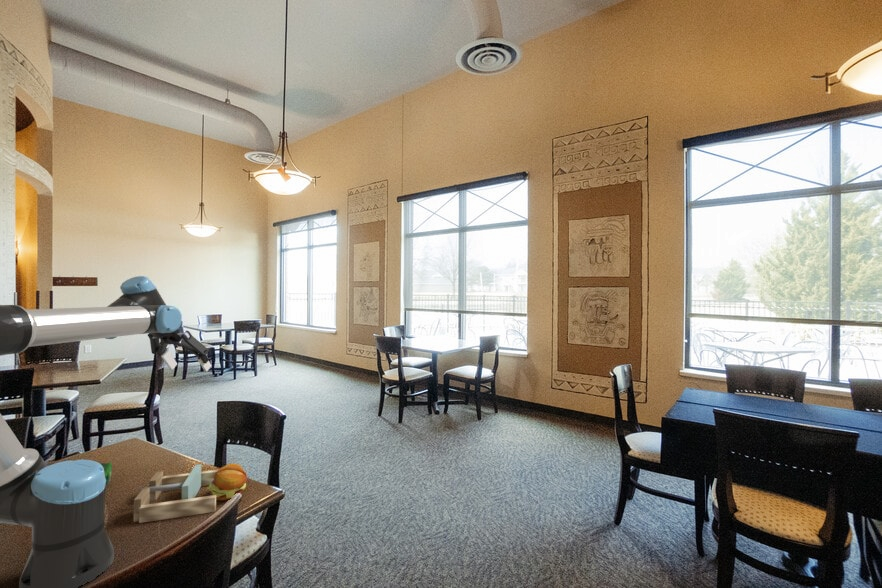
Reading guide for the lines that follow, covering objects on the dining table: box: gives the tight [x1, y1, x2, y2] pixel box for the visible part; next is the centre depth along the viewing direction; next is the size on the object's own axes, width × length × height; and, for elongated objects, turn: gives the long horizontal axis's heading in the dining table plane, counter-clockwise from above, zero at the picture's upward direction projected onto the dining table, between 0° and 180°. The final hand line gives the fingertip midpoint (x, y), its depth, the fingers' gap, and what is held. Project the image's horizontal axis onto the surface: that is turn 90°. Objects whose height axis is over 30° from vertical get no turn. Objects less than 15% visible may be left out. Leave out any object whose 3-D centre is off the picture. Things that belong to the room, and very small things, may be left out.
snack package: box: [99, 461, 113, 487], centre depth 125 cm, size 7×16×5 cm, turn 35°
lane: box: [133, 469, 219, 524], centre depth 117 cm, size 20×19×6 cm
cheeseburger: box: [208, 462, 248, 501], centre depth 120 cm, size 10×11×10 cm
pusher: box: [139, 463, 202, 500], centre depth 115 cm, size 14×14×7 cm
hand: (191, 367), depth 135 cm, fingers open, 13 cm apart
